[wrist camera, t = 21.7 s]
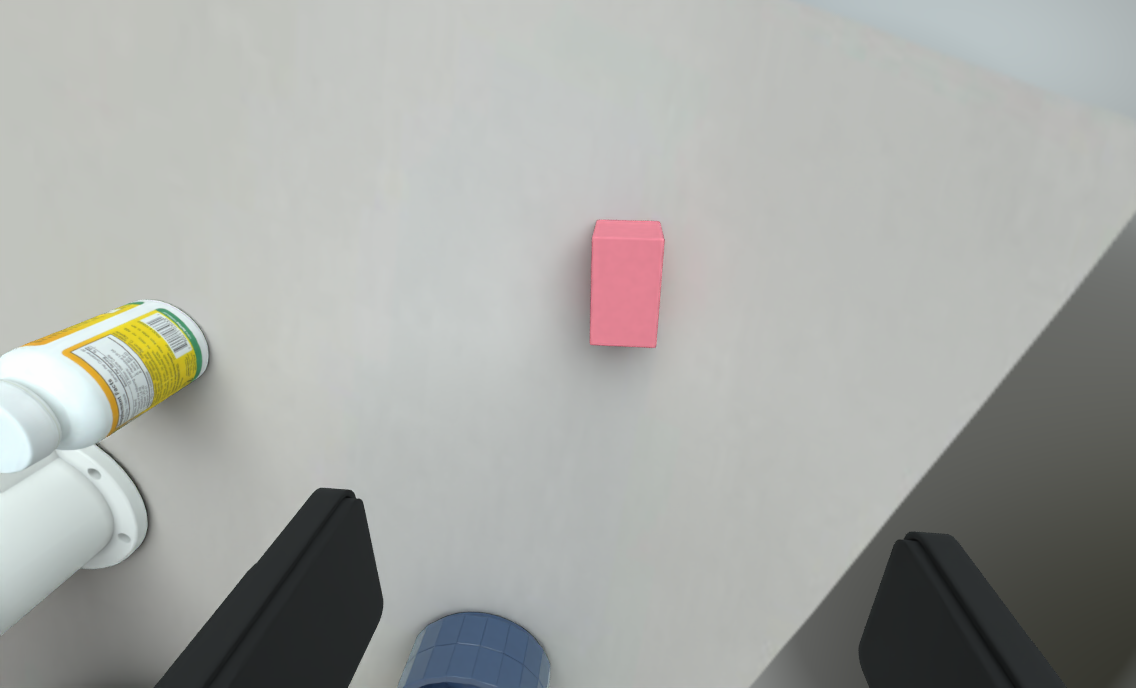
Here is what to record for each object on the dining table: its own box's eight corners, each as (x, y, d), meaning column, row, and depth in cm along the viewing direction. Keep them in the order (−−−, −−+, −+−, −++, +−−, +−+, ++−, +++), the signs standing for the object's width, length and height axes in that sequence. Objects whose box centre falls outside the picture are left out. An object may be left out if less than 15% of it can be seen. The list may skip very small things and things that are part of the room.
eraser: (596, 219, 25) (591, 236, 22) (660, 220, 25) (664, 238, 22) (594, 317, 27) (589, 345, 24) (652, 319, 27) (656, 348, 24)
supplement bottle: (212, 314, 29) (39, 403, 21) (212, 392, 32) (56, 502, 23) (118, 283, 29) (-97, 361, 21) (125, 364, 32) (-66, 465, 23)
